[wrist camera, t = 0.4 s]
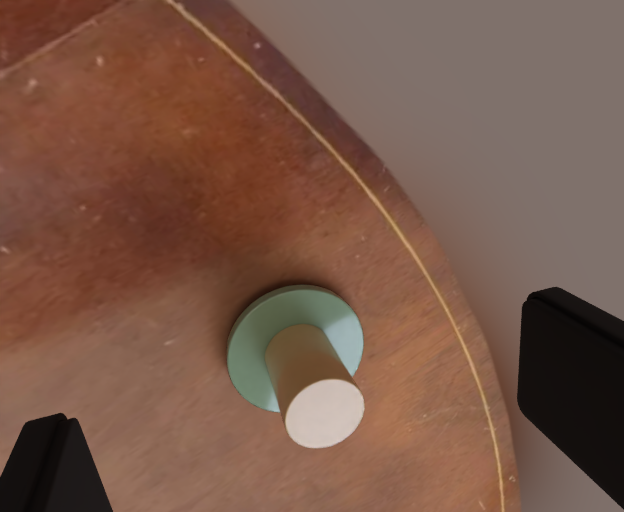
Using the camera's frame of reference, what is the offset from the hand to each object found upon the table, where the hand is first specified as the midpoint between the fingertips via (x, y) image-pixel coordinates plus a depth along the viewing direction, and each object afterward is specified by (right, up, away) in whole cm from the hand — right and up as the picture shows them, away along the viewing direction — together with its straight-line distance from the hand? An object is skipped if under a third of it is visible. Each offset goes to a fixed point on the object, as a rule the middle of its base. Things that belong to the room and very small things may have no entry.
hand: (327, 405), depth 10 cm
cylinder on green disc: (-1, -2, +18) cm, 19 cm away
